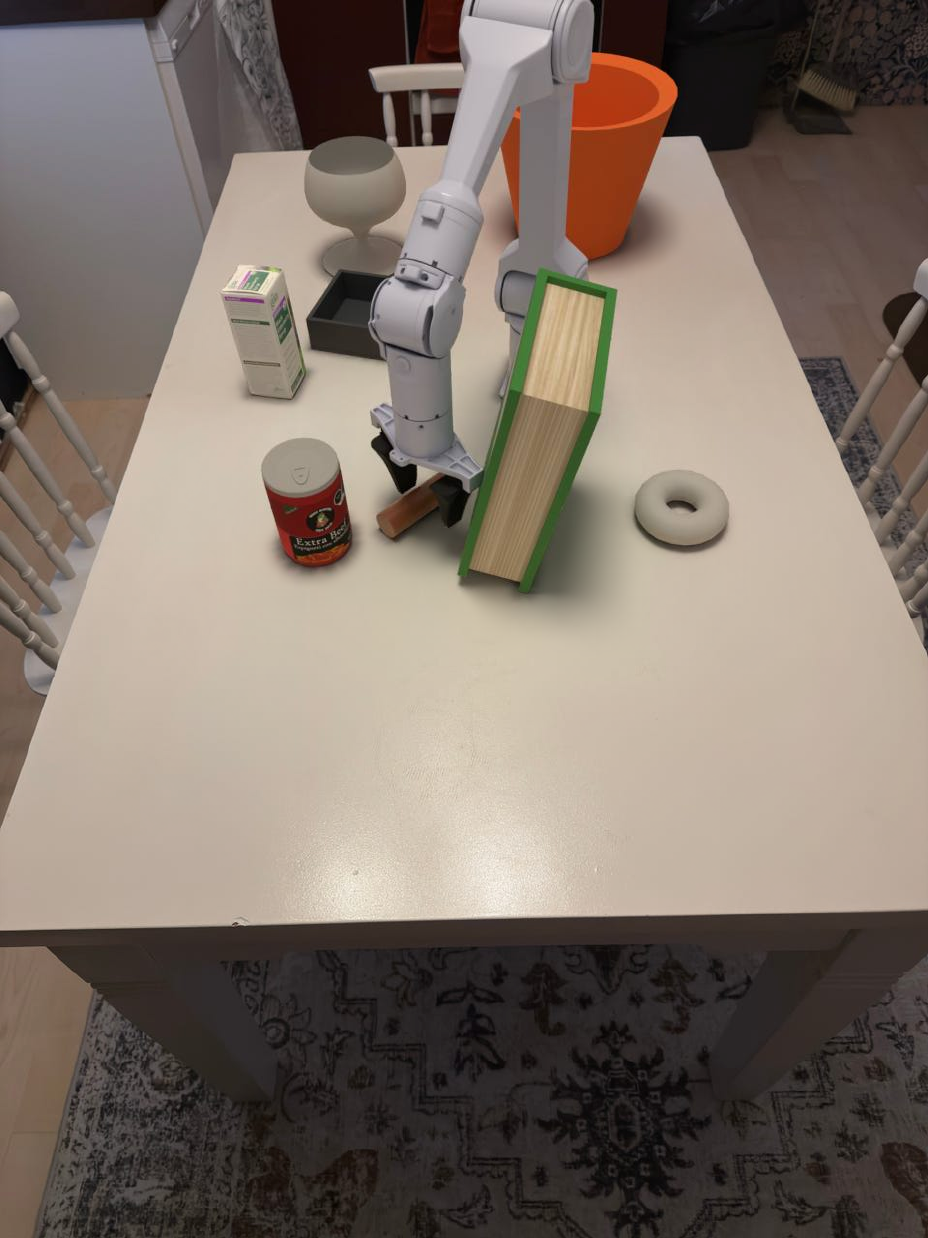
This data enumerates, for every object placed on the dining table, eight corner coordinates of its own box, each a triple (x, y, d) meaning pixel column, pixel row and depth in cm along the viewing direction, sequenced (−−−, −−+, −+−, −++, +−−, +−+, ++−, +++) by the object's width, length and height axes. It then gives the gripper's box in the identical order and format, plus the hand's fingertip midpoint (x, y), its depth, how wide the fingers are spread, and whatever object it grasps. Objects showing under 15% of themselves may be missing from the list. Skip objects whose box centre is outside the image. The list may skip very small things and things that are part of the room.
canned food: (297, 578, 87) (276, 502, 78) (271, 529, 91) (248, 452, 82) (365, 552, 89) (352, 475, 80) (336, 504, 93) (321, 427, 84)
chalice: (430, 252, 125) (424, 146, 113) (374, 297, 118) (362, 189, 106) (355, 227, 129) (341, 123, 117) (298, 270, 122) (277, 164, 110)
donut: (717, 562, 87) (732, 495, 92) (725, 540, 84) (739, 473, 90) (623, 540, 89) (642, 476, 95) (627, 518, 86) (647, 454, 92)
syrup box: (292, 400, 104) (268, 294, 93) (248, 395, 105) (218, 289, 93) (307, 372, 108) (285, 266, 96) (263, 367, 108) (237, 262, 97)
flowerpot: (587, 177, 137) (600, 38, 121) (688, 244, 124) (717, 98, 108) (458, 221, 130) (454, 78, 114) (551, 296, 117) (561, 148, 101)
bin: (433, 311, 115) (431, 280, 112) (405, 363, 108) (403, 333, 105) (343, 298, 118) (339, 268, 114) (311, 349, 111) (305, 318, 107)
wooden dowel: (458, 495, 94) (441, 476, 94) (464, 482, 91) (447, 462, 92) (392, 542, 90) (374, 521, 90) (396, 529, 87) (378, 509, 88)
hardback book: (527, 593, 85) (601, 413, 65) (457, 574, 84) (510, 389, 65) (548, 474, 95) (617, 289, 76) (486, 457, 95) (539, 267, 76)
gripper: (340, 387, 80) (357, 490, 91) (444, 459, 74) (449, 560, 84) (395, 355, 83) (405, 459, 94) (500, 422, 77) (498, 524, 87)
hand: (429, 505), depth 89 cm, fingers open, 7 cm apart
